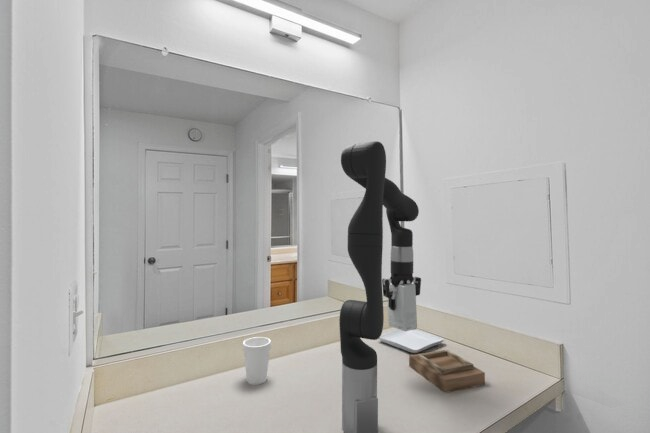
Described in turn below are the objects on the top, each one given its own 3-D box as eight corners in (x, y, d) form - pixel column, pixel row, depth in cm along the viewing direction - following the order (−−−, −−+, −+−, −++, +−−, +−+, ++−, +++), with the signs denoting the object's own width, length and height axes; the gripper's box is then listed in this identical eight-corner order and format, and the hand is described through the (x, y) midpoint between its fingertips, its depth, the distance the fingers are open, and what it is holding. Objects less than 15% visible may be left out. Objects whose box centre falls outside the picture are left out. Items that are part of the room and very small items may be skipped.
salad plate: (405, 332, 163) (405, 325, 163) (445, 345, 146) (445, 338, 146) (375, 343, 149) (375, 335, 149) (416, 359, 133) (416, 350, 133)
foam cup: (242, 388, 109) (243, 348, 109) (242, 375, 118) (242, 338, 118) (272, 384, 112) (272, 345, 112) (269, 372, 120) (269, 335, 120)
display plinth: (484, 384, 112) (484, 368, 112) (444, 392, 106) (445, 375, 106) (444, 360, 131) (444, 346, 131) (409, 366, 125) (409, 351, 125)
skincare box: (417, 329, 112) (417, 284, 112) (404, 332, 109) (404, 286, 109) (398, 322, 119) (399, 280, 119) (386, 325, 116) (386, 282, 116)
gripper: (388, 261, 108) (388, 313, 108) (426, 260, 113) (426, 310, 113) (377, 259, 115) (377, 307, 115) (413, 257, 120) (413, 304, 120)
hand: (401, 308), depth 114 cm, fingers closed on skincare box, 6 cm apart
